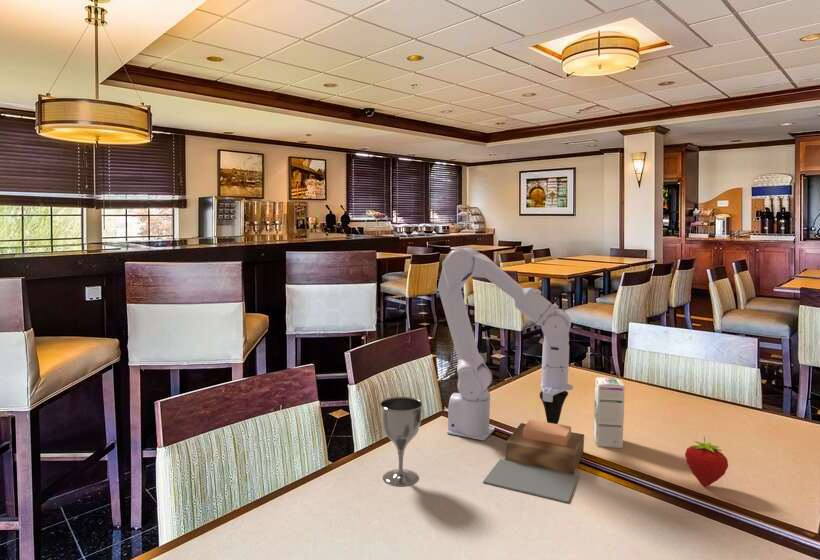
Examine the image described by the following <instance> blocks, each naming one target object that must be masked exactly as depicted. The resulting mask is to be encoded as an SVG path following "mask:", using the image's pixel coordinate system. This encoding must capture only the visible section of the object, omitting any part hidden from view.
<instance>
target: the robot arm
mask: <svg viewBox="0 0 820 560" xmlns="http://www.w3.org/2000/svg"><path fill="white" fill-rule="evenodd" d="M441 265H442V269H441V273H440V278H439V281H438V286H437V290H438V293H439V296H440V301H441V304H442V307H443V311H444V314H445V319H446V321H447V325H448V328H449V332H450V336H451V339H452V344H453V347H454V351H455V353H456V358H457V366H456V373H457V376H458V377H457V378H458V379H457V386H456V387H457V391H458V392H453V393H452V394H451V396H450V397H449V402H448V408H447V409H448V411H447V413H448V414H447V415H448V418H447V430H446V434H449V435H453V436H459V437H464V438H470V439H474V440H479V441H485V440H487V439H488V438H489V436H490V435H491V434H492V433H493V432H494V431H495V427H494V426H490V413H491V412H490V410H491V409H490V408H491V394H490V391H489V389H488V388H489V386H490V385H491V383H492V381H493V374H492V372H491V370H490V369H489V367H488V366H487V365H486V363H485V360H484V358H483V356H482V355H481V354H480V353H479V349H478V346H477V342H476V339H475V338H476V337H475V334H474V330H473V328H472V327H473V326H472V324H471V321H470V316H469V314H468V310H467V306H466V303H465V300H464V296H463V292H462V289H463V288H464V285H465V284H466V282H467V281H468V279H469V278H470V277H475V278H484V279H487V280H488V281H489V282H490V283H492V284H494V285H495V286H496V287H497V288H499V289H500V290H501V291H503V292H504V293H505V294H506V295H508V296H510V297H511V298H512V299H513V300H514V307H515V309H517V310H518V311H520V313H522V315H524V316H526V317H527V318H528V319H529V320H531V321H532V322H533V323H534V324H535V325H537V326H540V328H541V331H542V334H543V342H542V353H541V354H542V355H541V356H542V357H541V379H540V380H541V382H540V384H539V385H540V388H541V391H540V392H539V399H540V401H541V402H542V404H543V407H544V412H545V417H546V422H548V423H553V424H559V421H560V418H561V413H562V408H563V405H564V404H565V400H566V399H567V397H568V395H569V392H568V391H573V389H574V385H573V384H569V365H570V344H569V342H570V331H571V325H572V319H571V318H570V315H569V314H568V313H567V312H566V310H565V309H563V308H562V309H561V308H559V307H560V306H559V305H557V304H556V303H554V304H553V303H551V301H550V300H548V299H547V298H545V297H544V296H543V295H542V291H541V290H540V289H538V288H537V289H535V288H533V287H522V285H521V284H520V283H518V282H517V281H516V280H515V279H514V278H512V277H511V276H510V275H509V274H508V273H507V272H505V270H503V269H502V268H501V267H500V266H499V265H498V264H496V263H495V262H494V261H493V260H492V259H490V258H489V257H488V256H487V255H485V254H483V253H480V252H479V250H477V249H476V248H474V247H471V246H466V247H463V248H454V249H453V250H450V252H448V253H447V255H446V257H445V258H444V259H443V261H442V262H441Z"/></svg>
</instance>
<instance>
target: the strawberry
mask: <svg viewBox="0 0 820 560" xmlns="http://www.w3.org/2000/svg"><path fill="white" fill-rule="evenodd" d="M705 437H706V436H703V442H700V441H697V440H694V441H693V442H694V443H696V444H698V445H690V446H688V447H686V450H685V453H684V456H685V461H686V465H687V466H688V468H689V469H690V471H691V473H692V474H693V476H694V477H695V478H696V479H697V481H698V482H699V484H700V485H701V486H702V487H709V486H710V485H712V484H713V483H715V482H717V481H718V480H719V479H721V478H722V477H723V476H725V474H726V472H727V470H728V467H729V461H728V459H727V457H726V456H725V454H724V453H722V451H723V450H722V449H720V448H719V446H717V445H713V444H712V442H707V443H706V439H705Z"/></svg>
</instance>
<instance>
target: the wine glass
mask: <svg viewBox="0 0 820 560" xmlns="http://www.w3.org/2000/svg"><path fill="white" fill-rule="evenodd" d="M422 413H423V403H422V401H421V400H419V399H417V398H415V397H411V396H410V397H409V396H392V397H388V398H385V399H382V401H380V419H381V426H382V429H383V431H384V434H385V436H386V437H387V438H389V440H390V441H391V442H392V443H393V444H394V446H395V447H396V450H397V455H398V468H395V469H394V468H393V469H390V470H387V471H386V472H385V473H384V474H383V475H382V481H383V482H384V483H385V484H387V485H390V486H392V487H409V486H412V485H415V484H416V483H418V482H419V479H420V477H419V474H418V473H417V472H415V471H414V470H411V469H408V468H404V465H403V464H404V455H405V450H406V448H407V446H408V445H409V443H410V442H412V440H413V439H414V438H415V437H416V436H417V434H418V432H419V430H420V426H421V422H422V418H423V417H422V415H423V414H422Z"/></svg>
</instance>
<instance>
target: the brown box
mask: <svg viewBox="0 0 820 560" xmlns="http://www.w3.org/2000/svg"><path fill="white" fill-rule="evenodd" d="M526 424H527V423H524V422H521V423H519V425H518V426H517V427H516V429H515V430H514V431H513V432H512V433H511V435H510V436H509V438H508V439H507V440H506V441H505V456H504V457H505V459H504V460H508V461H512V462H517V463H522V464H526V465H531V466H536V467H540V468H545V469H550V470H554V471H559V472H564V473H568V474H573V475H575V473H576V471H577V469H578V467H579V464H580V462H581V459H582V457H583V454H584V449H585V447H584V444H585V434H584V433H578V432H573V431H571V436H570V438H569V440H568V442H567V444H566V446H564V445H559V444H554V443H549V442H543V441H538V440H533V439H528V438H523V428H524V427H525V425H526ZM581 456H582V457H581Z"/></svg>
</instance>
